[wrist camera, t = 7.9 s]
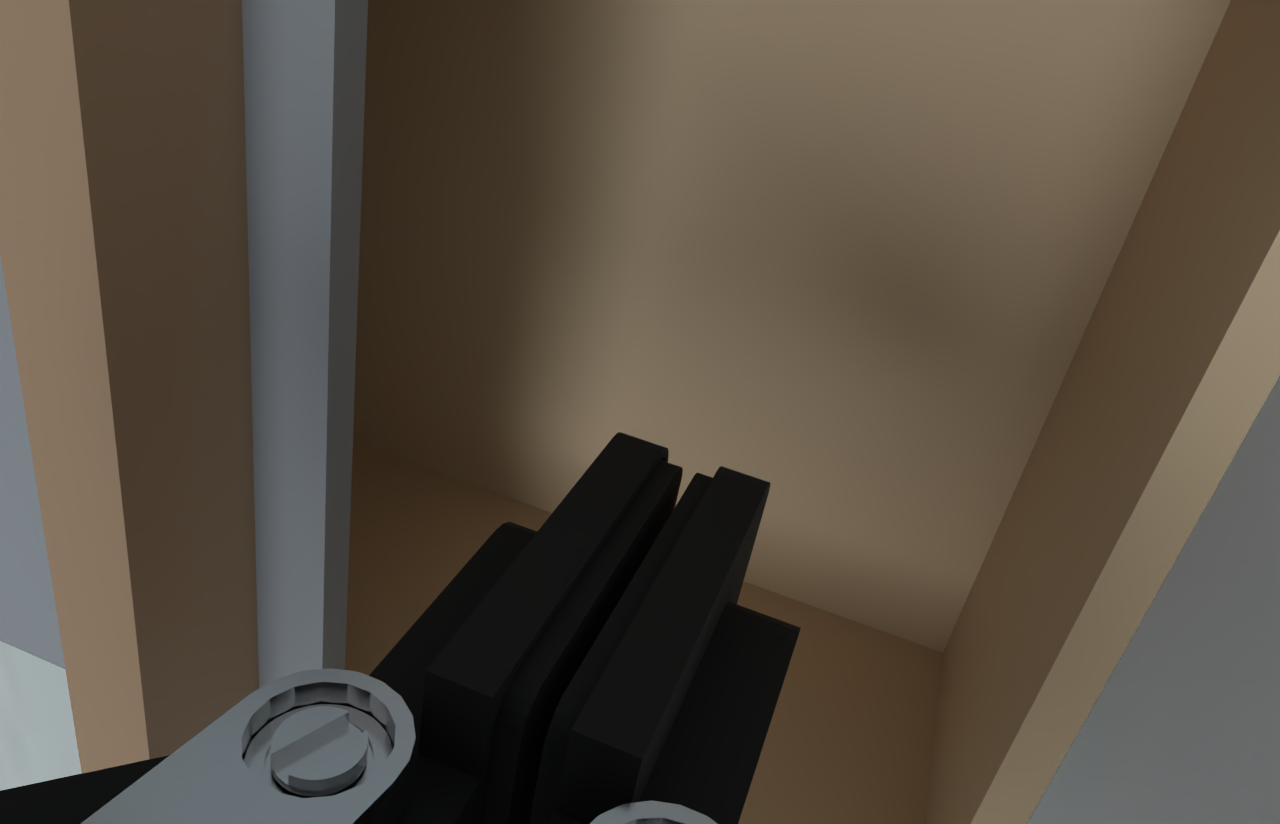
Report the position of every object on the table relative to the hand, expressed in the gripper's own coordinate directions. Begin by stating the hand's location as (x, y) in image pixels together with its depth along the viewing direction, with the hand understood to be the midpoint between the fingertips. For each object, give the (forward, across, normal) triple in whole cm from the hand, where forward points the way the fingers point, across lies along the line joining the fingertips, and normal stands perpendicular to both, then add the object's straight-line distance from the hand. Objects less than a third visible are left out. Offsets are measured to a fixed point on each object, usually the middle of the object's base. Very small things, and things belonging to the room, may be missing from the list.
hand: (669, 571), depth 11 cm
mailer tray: (+9, +4, 0) cm, 10 cm away
